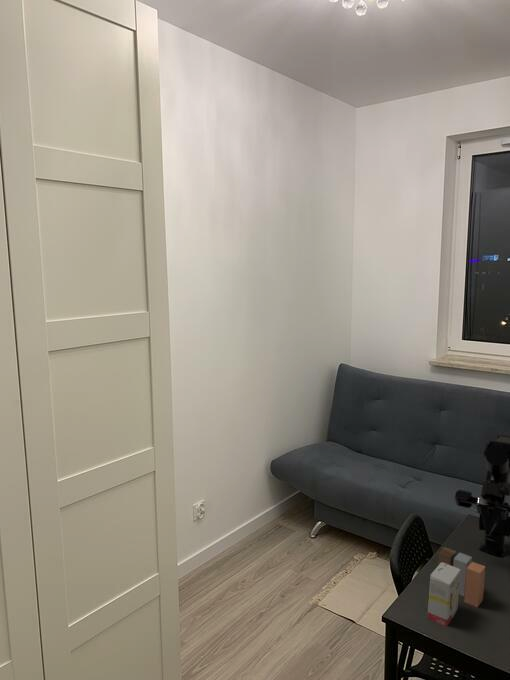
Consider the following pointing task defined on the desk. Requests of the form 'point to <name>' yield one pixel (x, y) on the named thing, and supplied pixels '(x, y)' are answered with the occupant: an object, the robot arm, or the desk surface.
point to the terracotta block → (474, 584)
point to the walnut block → (446, 556)
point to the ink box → (443, 593)
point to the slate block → (462, 570)
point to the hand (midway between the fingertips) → (487, 535)
